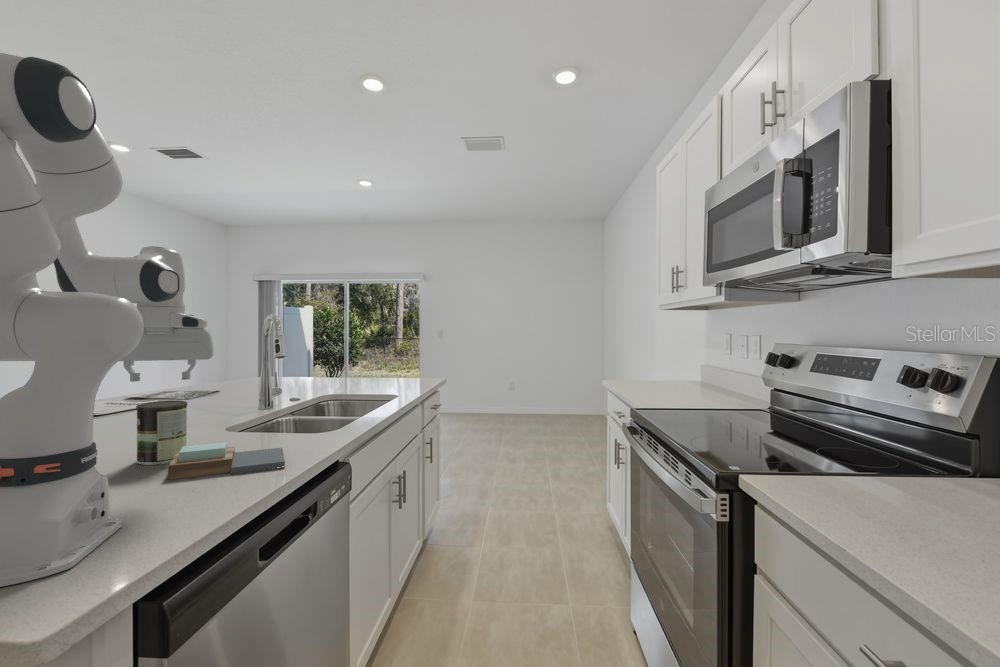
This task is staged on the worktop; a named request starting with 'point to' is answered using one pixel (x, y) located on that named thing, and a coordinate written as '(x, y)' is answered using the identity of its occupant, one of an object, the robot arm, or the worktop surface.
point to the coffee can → (160, 431)
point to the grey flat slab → (257, 460)
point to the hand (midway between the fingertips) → (161, 380)
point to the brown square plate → (200, 466)
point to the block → (203, 451)
